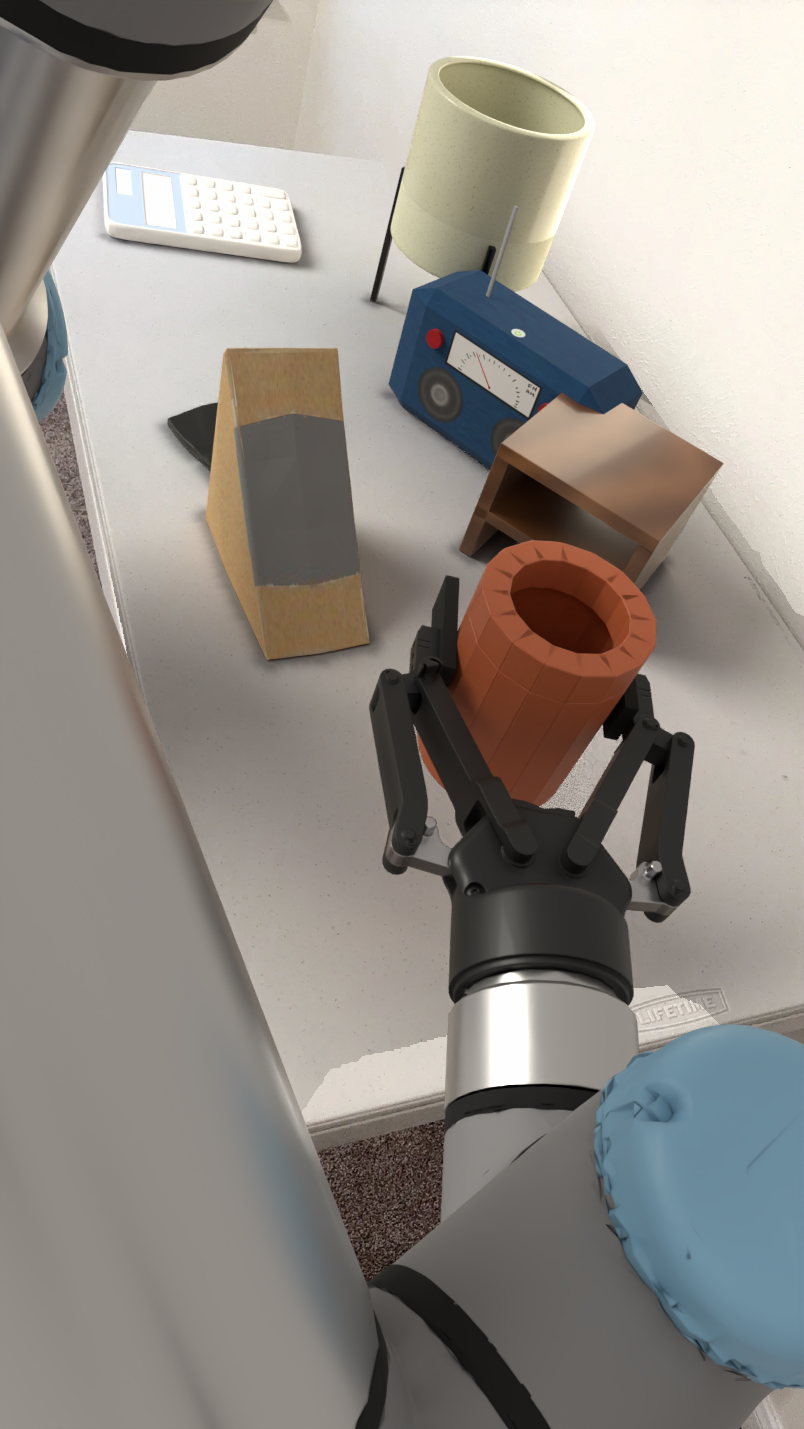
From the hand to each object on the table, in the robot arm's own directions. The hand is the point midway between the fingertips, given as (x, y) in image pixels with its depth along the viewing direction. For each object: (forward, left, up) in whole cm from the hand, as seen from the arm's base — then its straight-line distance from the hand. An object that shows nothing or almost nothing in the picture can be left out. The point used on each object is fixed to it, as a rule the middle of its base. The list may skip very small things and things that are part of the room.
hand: (529, 613), depth 54 cm
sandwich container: (-20, +7, -17) cm, 27 cm away
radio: (-18, +36, -17) cm, 44 cm away
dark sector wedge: (-32, +18, -17) cm, 40 cm away
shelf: (-5, +28, -17) cm, 33 cm away
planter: (-31, +48, -17) cm, 60 cm away
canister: (+2, -4, -7) cm, 8 cm away
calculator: (-59, +43, -17) cm, 75 cm away
